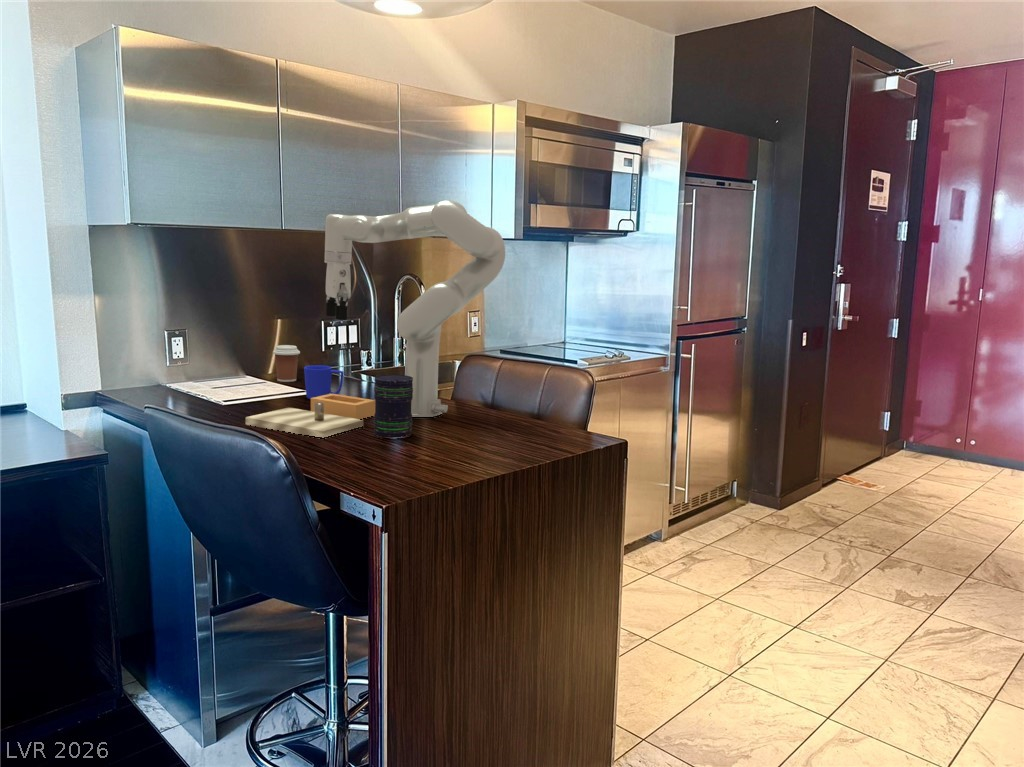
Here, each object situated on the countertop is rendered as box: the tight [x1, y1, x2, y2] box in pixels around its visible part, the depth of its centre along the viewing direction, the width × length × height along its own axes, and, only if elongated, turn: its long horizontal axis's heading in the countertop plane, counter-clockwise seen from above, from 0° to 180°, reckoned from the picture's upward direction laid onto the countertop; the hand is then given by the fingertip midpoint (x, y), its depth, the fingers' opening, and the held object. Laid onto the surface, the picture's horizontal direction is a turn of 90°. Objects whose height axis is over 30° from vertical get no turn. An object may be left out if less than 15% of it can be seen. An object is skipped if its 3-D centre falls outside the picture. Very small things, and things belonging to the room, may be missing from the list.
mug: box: [303, 364, 344, 400], centre depth 235 cm, size 8×12×10 cm
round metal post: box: [315, 402, 324, 421], centre depth 199 cm, size 2×2×4 cm
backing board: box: [245, 407, 364, 438], centre depth 200 cm, size 26×16×2 cm, turn 63°
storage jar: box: [373, 374, 413, 437], centre depth 194 cm, size 10×10×15 cm
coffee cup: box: [272, 344, 301, 383], centre depth 265 cm, size 9×9×12 cm
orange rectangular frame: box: [310, 393, 375, 420], centre depth 215 cm, size 16×9×4 cm, turn 63°
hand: (336, 317), depth 220 cm, fingers open, 9 cm apart
